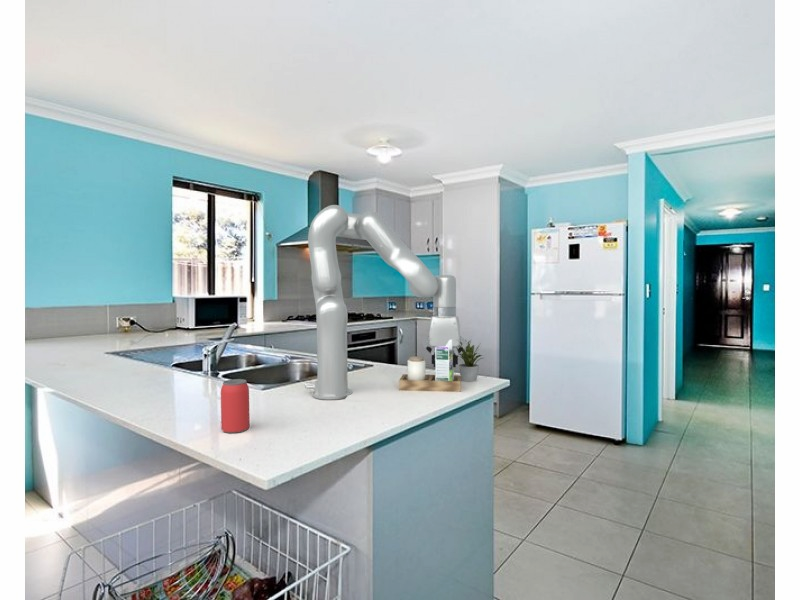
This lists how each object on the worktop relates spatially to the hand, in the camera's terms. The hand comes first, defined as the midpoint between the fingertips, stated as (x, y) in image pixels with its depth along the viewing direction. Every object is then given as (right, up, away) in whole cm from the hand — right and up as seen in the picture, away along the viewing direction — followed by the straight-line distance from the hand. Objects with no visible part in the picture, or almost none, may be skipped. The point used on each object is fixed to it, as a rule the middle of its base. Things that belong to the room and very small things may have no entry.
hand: (444, 366), depth 157 cm
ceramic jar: (-9, -7, +2) cm, 12 cm away
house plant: (+9, -8, +13) cm, 17 cm away
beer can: (-55, -10, -41) cm, 70 cm away
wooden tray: (-5, -8, +1) cm, 9 cm away
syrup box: (0, -5, 0) cm, 5 cm away
